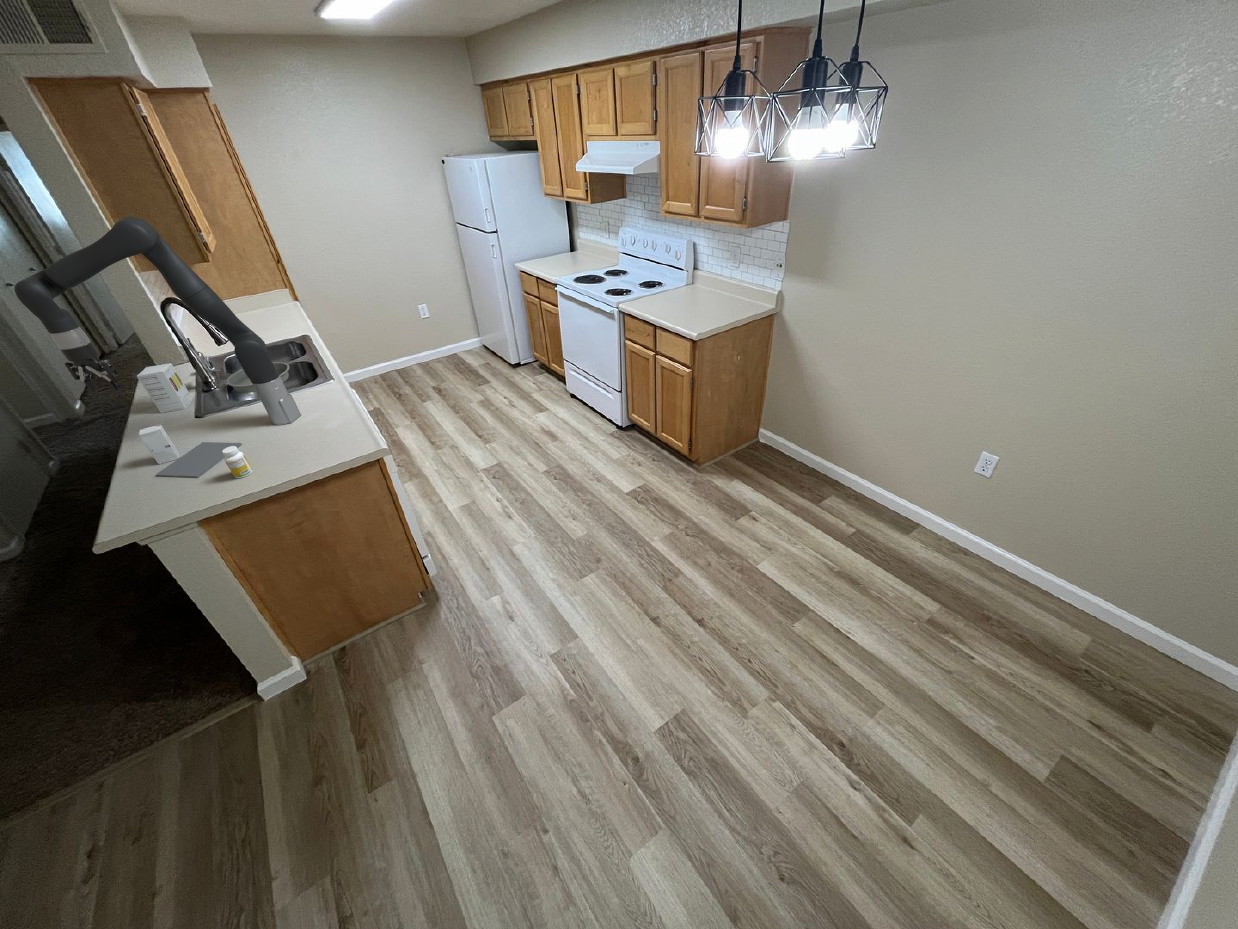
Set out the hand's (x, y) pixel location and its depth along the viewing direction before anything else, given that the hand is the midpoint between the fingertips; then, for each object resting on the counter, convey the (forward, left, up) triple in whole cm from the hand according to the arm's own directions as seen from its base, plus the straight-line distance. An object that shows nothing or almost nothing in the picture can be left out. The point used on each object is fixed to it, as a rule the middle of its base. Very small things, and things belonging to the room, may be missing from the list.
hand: (107, 390), depth 168 cm
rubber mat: (-23, +3, -25) cm, 34 cm away
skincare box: (-11, +3, -25) cm, 27 cm away
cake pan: (-1, -57, -25) cm, 62 cm away
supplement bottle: (-46, +10, -25) cm, 53 cm away
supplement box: (+21, -34, -25) cm, 47 cm away
